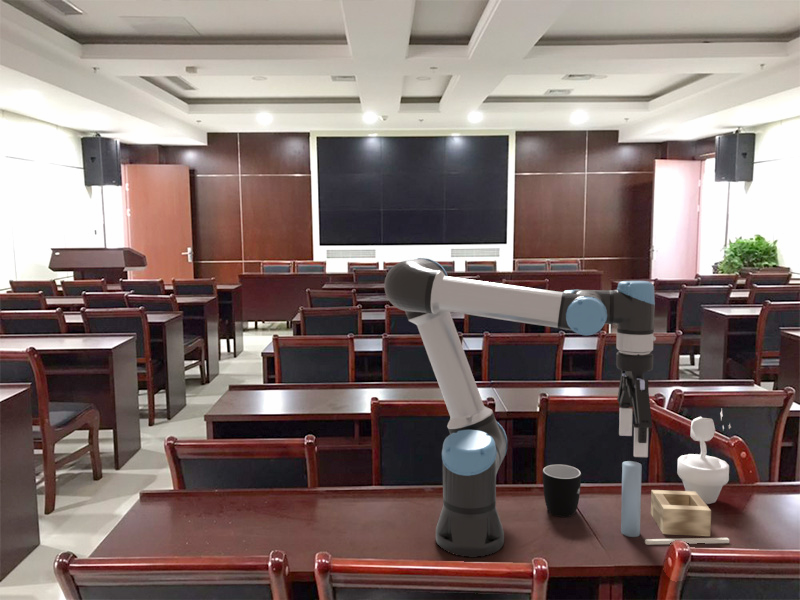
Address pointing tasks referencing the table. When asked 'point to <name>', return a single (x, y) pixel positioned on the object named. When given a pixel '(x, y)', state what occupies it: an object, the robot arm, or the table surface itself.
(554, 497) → the mug
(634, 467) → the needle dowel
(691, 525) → the wooden box
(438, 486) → the table surface
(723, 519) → the table surface
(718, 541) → the white thin rod
